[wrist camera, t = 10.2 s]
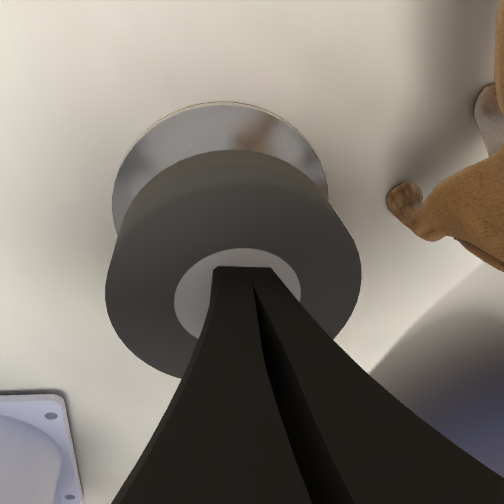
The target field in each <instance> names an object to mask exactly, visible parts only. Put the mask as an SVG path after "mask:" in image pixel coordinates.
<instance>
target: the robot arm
mask: <svg viewBox="0 0 504 504" xmlns="http://www.w3.org/2000/svg"><path fill="white" fill-rule="evenodd" d="M82 502H83V495H82V490H81V485H80V480H79V474H78V469H77V464H76V459H75V454H74V449H73V443H72V438H71V433H70V428H69V423H68V418H67V412H66V407H65V402H64V400H63V398H62V397H60V396H58V395H56V394H33V395H0V504H82ZM111 504H504V478H503V477H501V476H500V475H498V474H497V473H495V472H494V471H492V470H491V469H489V468H488V467H486V466H485V465H483V464H482V463H481V462H479V461H478V460H476V459H475V458H474V457H472V456H471V455H469V454H468V453H466V452H465V451H464V450H462V449H461V448H459V447H458V446H457V445H455V444H454V443H453V442H451V441H450V440H448V439H447V438H446V437H445V436H443V435H442V434H441V433H439V432H438V431H437V430H435V429H434V428H433V427H431V426H430V425H429V424H427V423H426V422H425V421H423V420H422V419H421V418H419V417H418V416H417V415H416V414H414V413H413V412H412V411H410V410H409V409H408V408H407V407H406V406H404V405H403V404H402V403H401V402H400V401H398V400H397V399H396V398H395V397H394V396H392V395H391V394H390V393H389V392H388V391H387V390H385V389H384V388H383V387H382V386H381V385H380V384H379V383H378V382H376V381H375V380H374V379H373V378H372V377H371V376H370V375H369V374H367V373H366V372H365V371H364V370H363V369H362V368H361V367H360V366H359V365H358V364H357V363H356V362H355V361H354V360H353V359H352V358H351V357H350V356H349V355H348V354H347V353H346V352H345V351H344V350H343V349H342V348H341V347H340V346H339V345H338V344H337V343H336V342H335V341H334V340H333V339H332V338H331V337H330V336H329V335H328V334H327V333H326V332H325V331H324V330H323V328H322V327H321V326H320V325H319V324H318V323H317V322H316V321H315V320H314V318H313V317H312V316H311V315H310V314H309V313H308V312H307V310H306V309H305V308H304V307H303V306H302V305H301V303H300V302H299V301H298V300H297V299H296V297H295V296H294V295H293V294H292V293H291V291H290V290H289V289H288V288H287V286H286V285H285V284H284V283H283V282H282V280H281V279H280V278H279V277H278V275H277V274H276V273H275V272H274V271H273V269H272V268H271V267H240V266H217V267H216V268H215V269H213V274H212V283H211V293H210V303H209V308H208V312H207V315H206V318H205V322H204V325H203V328H202V331H201V334H200V336H199V339H198V341H197V344H196V346H195V349H194V352H193V354H192V357H191V359H190V362H189V364H188V366H187V368H186V371H185V373H184V375H183V377H182V380H181V382H180V384H179V386H178V388H177V390H176V392H175V394H174V396H173V398H172V400H171V402H170V404H169V406H168V408H167V410H166V412H165V413H164V415H163V417H162V419H161V421H160V423H159V425H158V426H157V428H156V430H155V432H154V434H153V436H152V437H151V439H150V441H149V443H148V444H147V446H146V448H145V450H144V451H143V453H142V455H141V457H140V458H139V460H138V462H137V463H136V465H135V467H134V468H133V470H132V471H131V473H130V474H129V476H128V478H127V479H126V481H125V482H124V484H123V486H122V487H121V489H120V490H119V492H118V493H117V495H116V497H115V498H114V500H113V501H112V503H111Z"/></svg>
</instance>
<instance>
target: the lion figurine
mask: <svg viewBox="0 0 504 504" xmlns="http://www.w3.org/2000/svg"><path fill="white" fill-rule="evenodd" d="M494 76H495V83H493V84H490V85H488V86H486V87H485V88H484V89H483V91H482V92H481V93H480V95H479V96H478V98H477V101H476V104H475V111H474V115H475V120H476V122H477V124H478V126H479V128H480V131H481V134H482V137H483V140H484V142H485V145H486V149H487V152H488V155H489V157H488V158H487V159H485V160H483V161H481V162H479V163H476V164H474V165H472V166H469V167H467V168H465V169H463V170H461V171H459V172H457V173H455V174H453V175H452V176H450V177H448V178H447V179H445V180H444V181H442V182H440V183H439V184H438V185H437V186H436V187H435V189H434V190H433V191H432V193H431V194H430V195H429V196H428V197H427V199H426V200H425V201H424V202H423V204H422V199H423V197H422V192H421V190H420V188H419V187H418V186H417V185H415V184H411V183H409V182H403V183H402V184H401V185H399V186H396V187H395V188H394V189H393V190H392V191H391V192H390V194H389V195H388V198H387V204H388V207H389V209H390V211H391V212H392V214H393V215H394V216H395V217H397V218H398V219H399V220H400V221H401V222H402V223H403V224H404V225H406V226H407V227H408V228H410V229H411V230H412V231H413V232H414V233H415V234H416V235H417V236H419V237H420V238H422V239H425V240H427V241H431V242H432V241H437V240H440V239H441V238H443V237H444V236H451V237H454V239H455V240H457V241H459V242H460V243H461V244H462V245H463V246H464V247H465V248H466V249H467V250H468V251H470V252H471V253H473V254H474V255H476V256H477V257H478V258H480V259H481V260H483V261H484V262H486V263H488V264H489V265H491V266H493V267H495V268H497V269H498V270H500V271H502V272H504V0H500V4H499V8H498V15H497V22H496V36H495V66H494Z"/></svg>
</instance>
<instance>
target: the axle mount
mask: <svg viewBox="0 0 504 504" xmlns="http://www.w3.org/2000/svg"><path fill="white" fill-rule="evenodd" d="M228 149H229V150H248V151H255V152H261V153H264V154H267V155H271V156H274V157H277V158H279V159H281V160H283V161H286V162H288V163H290V164H291V165H293V166H294V167H296V168H297V169H299V170H301V171H302V172H303V173H304V174H305V175H307V176H308V177H309V178H310V179H311V180H312V181H313V182H314V183H315V184H316V186H317V187H318V188H319V189H320V190H321V192H322V193H323V195H324V196H325V198H326V199H327V201H328V186H327V182H326V177H325V173H324V171H323V168H322V166H321V163H320V161H319V159H318V157H317V156H316V154H315V152H314V150H313V149H312V148H311V146H310V145H309V144H308V143H307V141H306V140H305V139H304V138H303V136H302V135H301V134H300V133H299V132H298V131H297V130H295V129H294V128H293V127H292V126H291V125H290V124H288V123H287V122H286V121H284V120H283V119H281V118H280V117H278V116H276V115H274V114H272V113H270V112H268V111H266V110H263V109H260V108H257V107H254V106H251V105H246V104H241V103H236V102H211V103H202V104H198V105H194V106H190V107H186V108H184V109H181V110H178V111H176V112H173V113H171V114H170V115H168V116H166V117H164V118H162V119H161V120H159V121H158V122H156V123H155V124H154V125H152V126H151V127H150V128H148V129H147V130H146V131H145V132H144V133H143V134H142V135H141V136H140V137H139V138H138V139H137V140H136V142H135V143H134V144H133V146H132V147H131V148H130V150H129V151H128V153H127V155H126V157H125V159H124V160H123V162H122V164H121V167H120V169H119V172H118V175H117V178H116V181H115V185H114V191H113V197H112V212H113V219H114V224H115V228H116V231H117V235H119V231H120V228H121V224H122V222H123V219H124V216H125V213H126V211H127V209H128V208H129V206H130V204H131V202H132V200H133V199H134V198H135V196H136V195H137V194H138V192H139V191H140V190H141V189H142V188H143V187H144V186H145V185H146V184H147V183H148V182H149V181H150V180H151V179H152V178H153V177H154V176H156V175H157V174H159V173H160V172H161V171H163V170H164V169H165V168H167V167H169V166H171V165H173V164H175V163H177V162H178V161H181V160H183V159H186V158H189V157H191V156H194V155H197V154H202V153H206V152H210V151H218V150H228Z"/></svg>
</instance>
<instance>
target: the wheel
mask: <svg viewBox="0 0 504 504" xmlns="http://www.w3.org/2000/svg"><path fill="white" fill-rule="evenodd" d="M217 266H240V267H271V268H272V269H273V271H274V272H275V273H276V274H277V275H278V277H279V278H280V279H281V280H282V282H283V283H284V284H285V285H286V286H287V288H288V289H289V290H290V291H291V293H292V294H293V295H294V296H295V297H296V299H297V300H298V301H299V302H300V303H301V305H302V306H303V307H304V308H305V309H306V310H307V312H308V313H309V314H310V315H311V316H312V317H313V318H314V320H315V321H316V322H317V323H318V324H319V325H320V326H321V327H322V328H323V330H324V331H325V332H326V333H327V334H328V335H329V336H330V337H331V338H332V339H334V338H335V337H336V336H337V334H338V333H339V332H340V331H341V329H342V328H343V327H344V326H345V324H346V322H347V321H348V319H349V317H350V316H351V314H352V312H353V310H354V307H355V305H356V303H357V299H358V296H359V292H360V286H361V263H360V258H359V253H358V250H357V248H356V245H355V243H354V240H353V239H352V237H351V235H350V234H349V232H348V230H347V229H346V227H345V226H344V224H343V223H342V221H341V220H340V218H339V217H338V215H337V214H336V212H335V211H334V210H333V208H332V207H331V205H330V204H329V202H328V201H327V199H326V198H325V196H324V195H323V193H322V192H321V190H320V189H319V188H318V187H317V186H316V184H315V183H314V182H313V181H312V180H311V179H310V178H309V177H308V176H307V175H305V174H304V173H303V172H302V171H301V170H299V169H297V168H296V167H294V166H293V165H291V164H290V163H288V162H286V161H283V160H281V159H279V158H277V157H274V156H271V155H267V154H264V153H261V152H255V151H248V150H229V149H228V150H218V151H210V152H206V153H202V154H197V155H194V156H191V157H189V158H186V159H183V160H181V161H178V162H177V163H175V164H173V165H171V166H169V167H167V168H165V169H164V170H163V171H161V172H160V173H159V174H157V175H156V176H154V177H153V178H152V179H151V180H150V181H149V182H148V183H147V184H146V185H145V186H144V187H143V188H142V189H141V190H140V191H139V192H138V194H137V195H136V196H135V198H134V199H133V200H132V202H131V204H130V206H129V208H128V209H127V211H126V213H125V216H124V219H123V222H122V224H121V228H120V231H119V235H118V238H117V242H116V245H115V249H114V252H113V256H112V259H111V263H110V266H109V270H108V274H107V280H106V285H105V300H106V306H107V312H108V315H109V318H110V321H111V323H112V326H113V328H114V329H115V331H116V333H117V335H118V336H119V338H120V339H121V340H122V342H123V343H124V344H125V345H126V347H127V348H128V349H129V350H131V351H132V352H133V353H134V354H135V355H136V356H137V357H138V358H140V359H141V360H142V361H144V362H145V363H147V364H148V365H150V366H152V367H154V368H155V369H157V370H159V371H161V372H164V373H166V374H169V375H171V376H174V377H177V378H181V379H182V377H183V375H184V373H185V371H186V368H187V366H188V364H189V362H190V359H191V357H192V354H193V352H194V349H195V346H196V344H197V341H198V339H199V336H200V334H201V331H202V328H203V325H204V322H205V318H206V315H207V312H208V308H209V303H210V293H211V283H212V274H213V269H215V268H216V267H217Z"/></svg>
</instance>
